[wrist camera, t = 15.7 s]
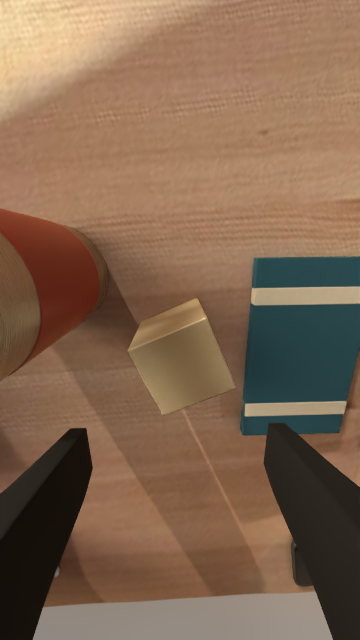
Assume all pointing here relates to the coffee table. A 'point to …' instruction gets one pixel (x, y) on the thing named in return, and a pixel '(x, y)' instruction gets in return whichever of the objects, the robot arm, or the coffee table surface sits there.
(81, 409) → the coffee table surface
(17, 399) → the coffee table surface
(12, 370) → the can
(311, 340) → the towel
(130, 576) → the coffee table surface
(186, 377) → the block
